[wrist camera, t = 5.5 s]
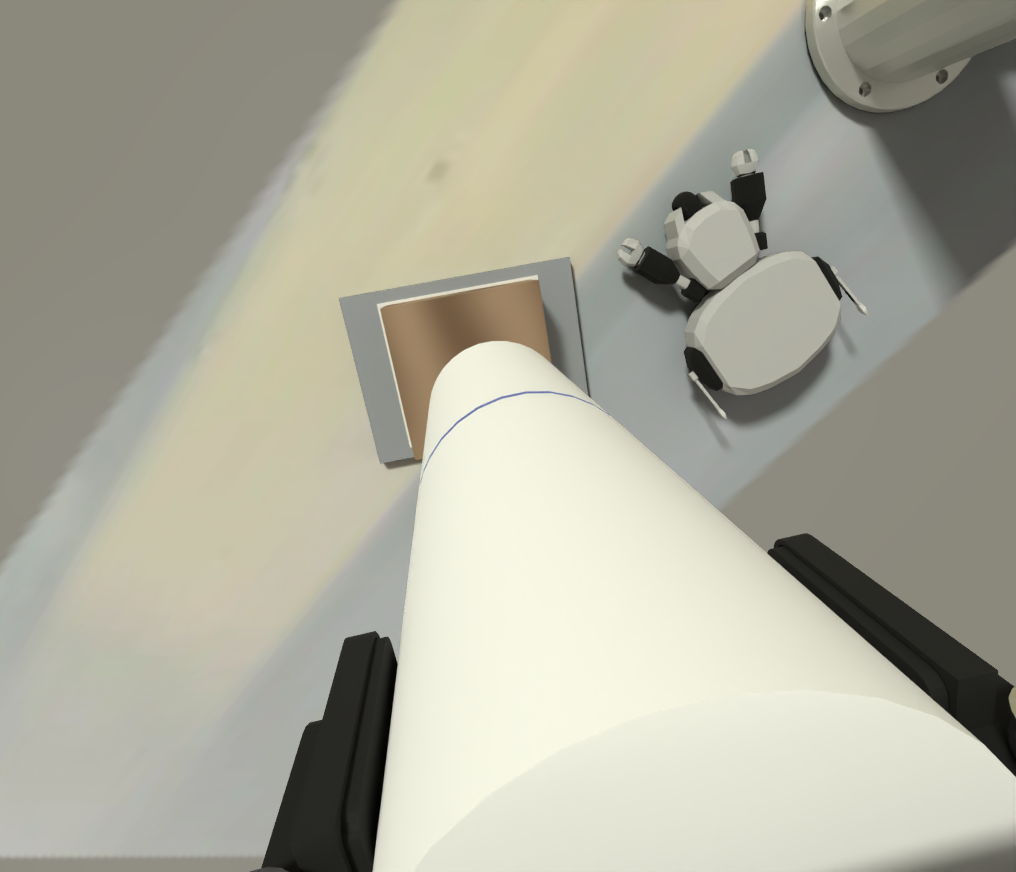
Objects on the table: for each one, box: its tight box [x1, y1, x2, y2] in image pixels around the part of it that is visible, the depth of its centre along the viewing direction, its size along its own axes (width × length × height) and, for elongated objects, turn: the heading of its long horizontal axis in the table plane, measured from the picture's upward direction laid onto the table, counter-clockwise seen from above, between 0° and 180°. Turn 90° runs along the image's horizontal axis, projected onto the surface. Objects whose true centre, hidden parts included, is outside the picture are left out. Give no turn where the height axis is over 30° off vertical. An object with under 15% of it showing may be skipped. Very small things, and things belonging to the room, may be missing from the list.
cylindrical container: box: [373, 341, 1016, 872], centre depth 18 cm, size 7×7×25 cm
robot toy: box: [617, 149, 867, 419], centre depth 40 cm, size 12×4×15 cm
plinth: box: [380, 279, 552, 460], centre depth 39 cm, size 10×10×4 cm
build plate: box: [339, 257, 588, 464], centre depth 41 cm, size 16×12×1 cm
